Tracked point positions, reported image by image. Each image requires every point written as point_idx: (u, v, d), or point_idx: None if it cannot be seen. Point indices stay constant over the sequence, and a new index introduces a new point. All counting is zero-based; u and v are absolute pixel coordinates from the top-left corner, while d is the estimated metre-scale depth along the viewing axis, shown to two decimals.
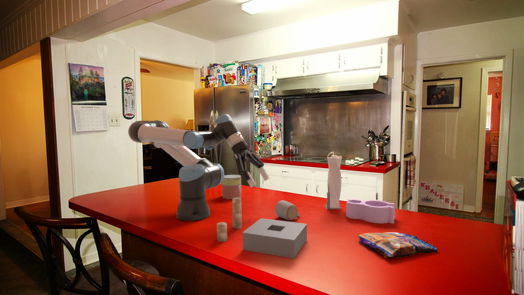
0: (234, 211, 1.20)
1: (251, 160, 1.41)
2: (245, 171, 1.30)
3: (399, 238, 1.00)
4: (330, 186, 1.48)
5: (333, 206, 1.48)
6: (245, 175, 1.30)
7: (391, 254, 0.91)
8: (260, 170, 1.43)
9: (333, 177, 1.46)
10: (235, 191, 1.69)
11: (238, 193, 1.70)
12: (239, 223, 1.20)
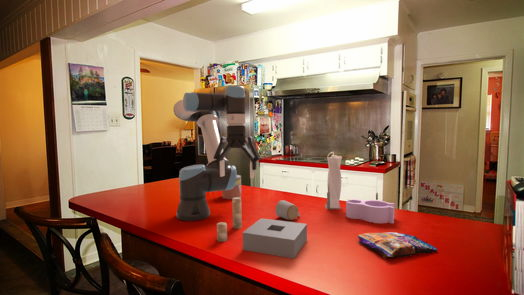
0: (234, 211, 1.20)
1: None
2: (217, 159, 1.22)
3: (398, 238, 1.00)
4: (330, 186, 1.48)
5: (333, 206, 1.48)
6: None
7: (390, 254, 0.91)
8: None
9: (333, 177, 1.46)
10: (235, 191, 1.69)
11: (238, 193, 1.70)
12: (239, 223, 1.20)
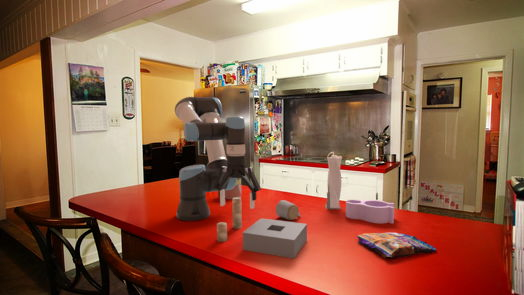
0: (234, 211, 1.20)
1: None
2: (217, 188, 1.23)
3: (398, 238, 1.00)
4: (330, 186, 1.48)
5: (333, 206, 1.48)
6: None
7: (390, 254, 0.91)
8: None
9: (333, 177, 1.46)
10: (235, 191, 1.69)
11: (238, 193, 1.70)
12: (239, 223, 1.20)
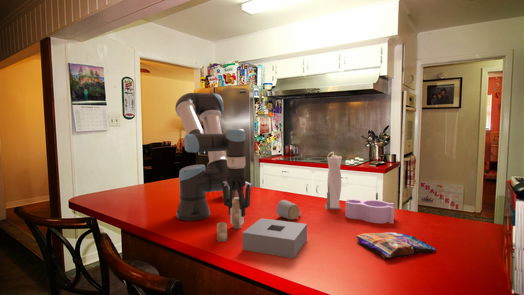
0: (234, 211, 1.20)
1: None
2: (228, 207, 1.21)
3: (397, 238, 1.00)
4: (330, 186, 1.48)
5: (333, 206, 1.48)
6: None
7: (389, 254, 0.91)
8: None
9: (333, 177, 1.46)
10: (235, 191, 1.69)
11: None
12: None
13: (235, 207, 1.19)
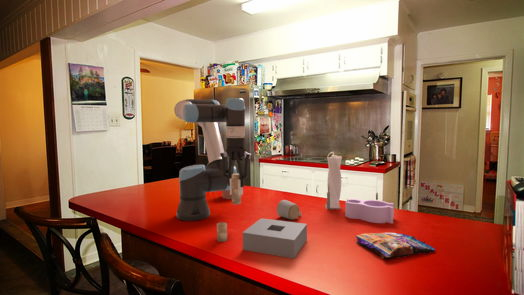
0: (233, 187, 1.19)
1: None
2: (227, 177, 1.21)
3: (396, 238, 1.00)
4: (330, 186, 1.48)
5: (333, 206, 1.48)
6: None
7: (388, 254, 0.91)
8: None
9: (333, 177, 1.46)
10: None
11: None
12: (238, 199, 1.20)
13: (235, 183, 1.19)
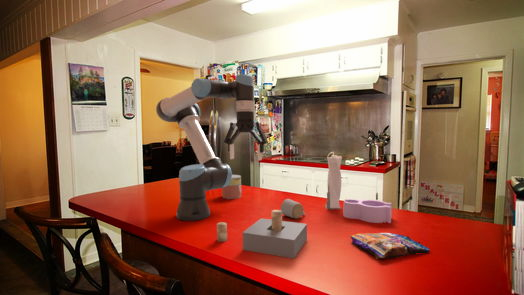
0: (274, 226, 1.01)
1: None
2: (227, 143, 1.32)
3: (391, 239, 1.00)
4: (330, 186, 1.48)
5: (333, 206, 1.48)
6: None
7: (382, 255, 0.90)
8: None
9: (333, 177, 1.46)
10: (235, 191, 1.69)
11: (238, 193, 1.70)
12: None
13: (276, 222, 1.01)
